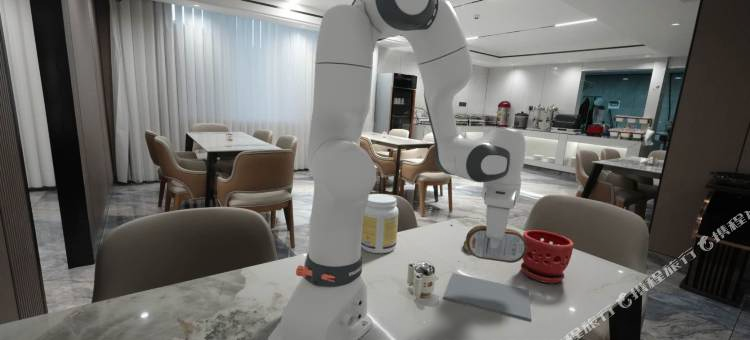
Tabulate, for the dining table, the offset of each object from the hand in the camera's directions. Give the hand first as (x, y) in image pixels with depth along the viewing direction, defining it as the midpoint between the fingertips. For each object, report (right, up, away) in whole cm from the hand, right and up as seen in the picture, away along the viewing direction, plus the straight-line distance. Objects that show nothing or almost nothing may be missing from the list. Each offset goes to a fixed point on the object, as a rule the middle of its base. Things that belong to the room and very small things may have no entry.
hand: (494, 244), depth 89 cm
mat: (-2, -13, -1) cm, 13 cm away
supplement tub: (-30, -7, +25) cm, 40 cm away
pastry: (+3, -8, +29) cm, 30 cm away
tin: (0, -4, 0) cm, 4 cm away
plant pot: (+18, -12, +12) cm, 25 cm away
